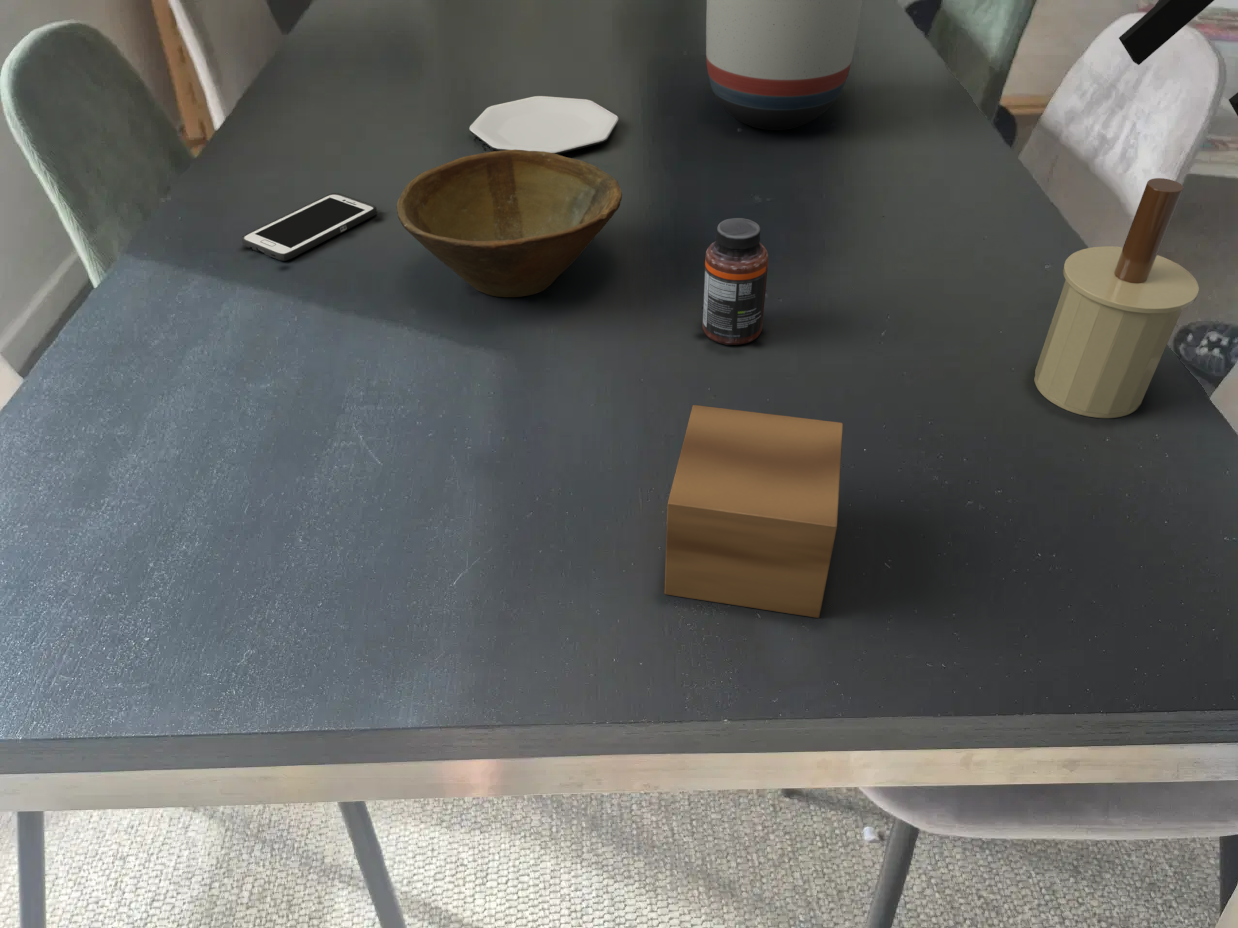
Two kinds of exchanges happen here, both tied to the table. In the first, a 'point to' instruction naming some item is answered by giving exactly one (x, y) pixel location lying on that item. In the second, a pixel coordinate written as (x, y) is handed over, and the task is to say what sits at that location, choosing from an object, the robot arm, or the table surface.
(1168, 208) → the lid
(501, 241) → the bowl
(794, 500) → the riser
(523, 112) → the plate
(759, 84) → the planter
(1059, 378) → the jar
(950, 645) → the table surface
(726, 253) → the supplement bottle
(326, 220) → the cell phone
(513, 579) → the table surface
